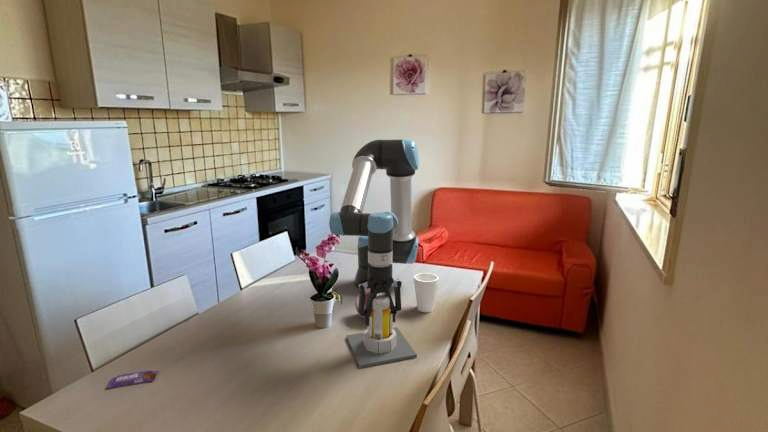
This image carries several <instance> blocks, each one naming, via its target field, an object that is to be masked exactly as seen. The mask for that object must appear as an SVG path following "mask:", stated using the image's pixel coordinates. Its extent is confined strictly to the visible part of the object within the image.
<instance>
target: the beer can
mask: <svg viewBox="0 0 768 432" xmlns="http://www.w3.org/2000/svg"><path fill="white" fill-rule="evenodd" d="M370 315H371V316H372V336H371V337H370V338H374V339H378V340H380V339H386V338H389V337H390V299H389V296H388V297H387V296H386V295H385V293H379V294H377V296H376V297H375V298H374V300H373V302H372V310H371V313H370Z"/></svg>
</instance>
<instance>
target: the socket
mask: <svg viewBox="0 0 768 432" xmlns="http://www.w3.org/2000/svg"><path fill="white" fill-rule="evenodd" d="M346 340H347V342H348V345H349V346H350V350H351V351H352V353H353V356H354V358H355V360H356V362H357V364H358V368H359V369H363V368H369V367H373V366H379V365H384V364H389V363H394V362H395V363H396V362H400V361H405V360H411V359H416V358H417V357H418V354H417V353H416V352H415V350H414V349H413V347H412V346H411V345H410V343H409V342H408V340H407V339H406V337H405V336H404V335H403V333H402V332H401V330H400V329H399V328H398V326H396V327H393V333H390V337H389V338H386V339H380V340H378V339H374V338H370V336H369V334H368V333H367V329H366V330H364V331H363V332H360V333H359V332H358V333H353V334H347V335H346Z"/></svg>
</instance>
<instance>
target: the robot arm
mask: <svg viewBox="0 0 768 432" xmlns="http://www.w3.org/2000/svg"><path fill="white" fill-rule="evenodd" d="M419 161H420V160H419V151H418V147H417V143H416V142H415V141H414V140H412V139H404V138H403V139H374V140H372V141H369V142H367V143H366V144H365V145H363V146H362V147H361V148H360V149H359V150H358V151H357V152H356V153H355V155H354V156H353V160H352V163H351V166H352V171H351V174H350V178H349V181H348V184H347V187H346V191H345V193H344V197H343V201H342V204H341V206H340V211H335V212H332V213H331V214H330V216H329V221H328V222H329V223H328V225H329V231H330V233H331V234H333V235H335V236H343V237H344V236H352V237H353V236H354V237H355V236H356V237H357V236H358V239H357V260H358V261H357V265H358V266H357V271H356V274H355V277H354V286H355V287H357V288H358V290H359V294H358V295H359V310H358V312H359V313H360V315H361V316H364V318H363V319H364V320H363V321H364V322H363V323H364V325H365V326H366V328H367V329H366V330H367V333H368V334H369V336H370V337H371V336H372V316H371V315H370V313H371V310H372V302H373V300H374V298H375V297H376V296H377V294H379V293H385V295H386V296H387V297H388V296H389V299H390V333H393V328H394V326H393V324H394V323H395V322H396V315H397V312H398V311H399V312H400V311H401V310H402V297H401V296H402V294H401V287H402V283H403V282H402V281H401V280H400V279H399V278H396V279H394V278H393V264H400V265H402V264H403V265H407V264H408V265H411V264H414V263H416V260H417V255H418V247H419V242H420V241H419V240H420V239H419V237H417V236H416V233H415V231H413V229H412V228H413V225H412V224H413V223H412V222H413V221H412V216H413V215H412V213H413V211H412V205H413V203H412V178H413V176H415V175H416V171H418V170H419V169H420V167H419V166H420V163H419ZM377 170H385V172H386V173H385V175H386V176H387V177H388V178H389V186H390V187H389V188H390V211H383V212H373V213H365V212H364V207H365V203H366V199H367V196H368V193H369V189H370V184H371V182H372V181H371V180H372V176H373V175H374V174H375V173H376V171H377ZM363 212H364V213H363ZM392 285H393V289H394V291H393V292H394V300H393V298H392V295H391V291H390V288H391V287H392ZM368 288H370V294H369V298H368V301H367V304H366V307H365V290H366V289H368ZM393 301H394V302H393ZM364 308H365V310H364ZM358 312H357V313H358ZM359 313H358V314H359ZM360 315H359V316H360ZM361 316H360V317H361Z"/></svg>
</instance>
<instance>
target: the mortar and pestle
mask: <svg viewBox="0 0 768 432" xmlns="http://www.w3.org/2000/svg"><path fill="white" fill-rule="evenodd" d="M369 294H370V288H368V289H366V290H365V307H366V304H367V301H368V298H369ZM354 303H355V304H354V305H355V306H354V307H355V310H356V311H357V313H358V314H359V316H360V317H361V318H363V319H364V316H361V315H360V313H359V312H358V310H359V294H358V295H357V296H356V298H355V302H354ZM364 310H365V308H364Z"/></svg>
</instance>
